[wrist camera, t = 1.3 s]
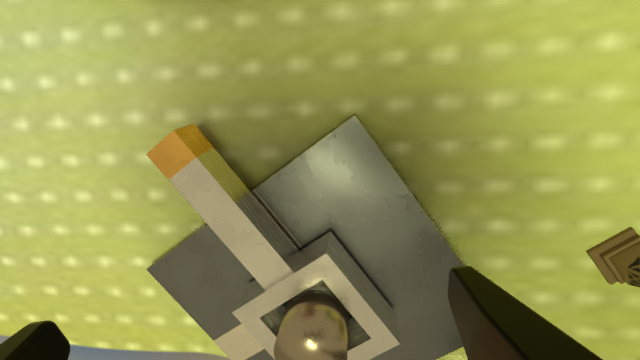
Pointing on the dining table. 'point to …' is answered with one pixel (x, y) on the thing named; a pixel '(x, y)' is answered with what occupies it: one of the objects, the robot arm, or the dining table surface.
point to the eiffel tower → (619, 258)
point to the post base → (356, 238)
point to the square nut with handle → (272, 250)
